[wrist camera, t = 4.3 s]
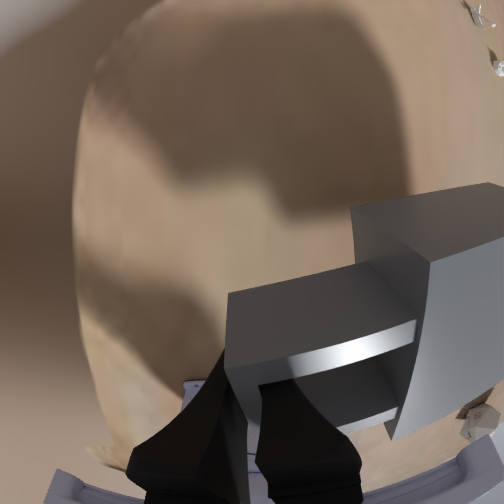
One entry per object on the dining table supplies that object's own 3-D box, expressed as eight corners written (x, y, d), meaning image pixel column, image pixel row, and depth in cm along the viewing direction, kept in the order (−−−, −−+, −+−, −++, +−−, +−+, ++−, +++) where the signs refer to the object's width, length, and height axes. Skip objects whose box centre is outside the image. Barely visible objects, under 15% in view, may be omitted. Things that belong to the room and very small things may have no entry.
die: (483, 390, 31) (474, 436, 26) (509, 399, 28) (502, 443, 22) (459, 405, 37) (448, 446, 31) (485, 414, 34) (475, 454, 28)
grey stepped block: (262, 386, 16) (271, 472, 10) (217, 236, 12) (199, 319, 7) (472, 317, 16) (518, 366, 10) (488, 182, 12) (564, 210, 6)
